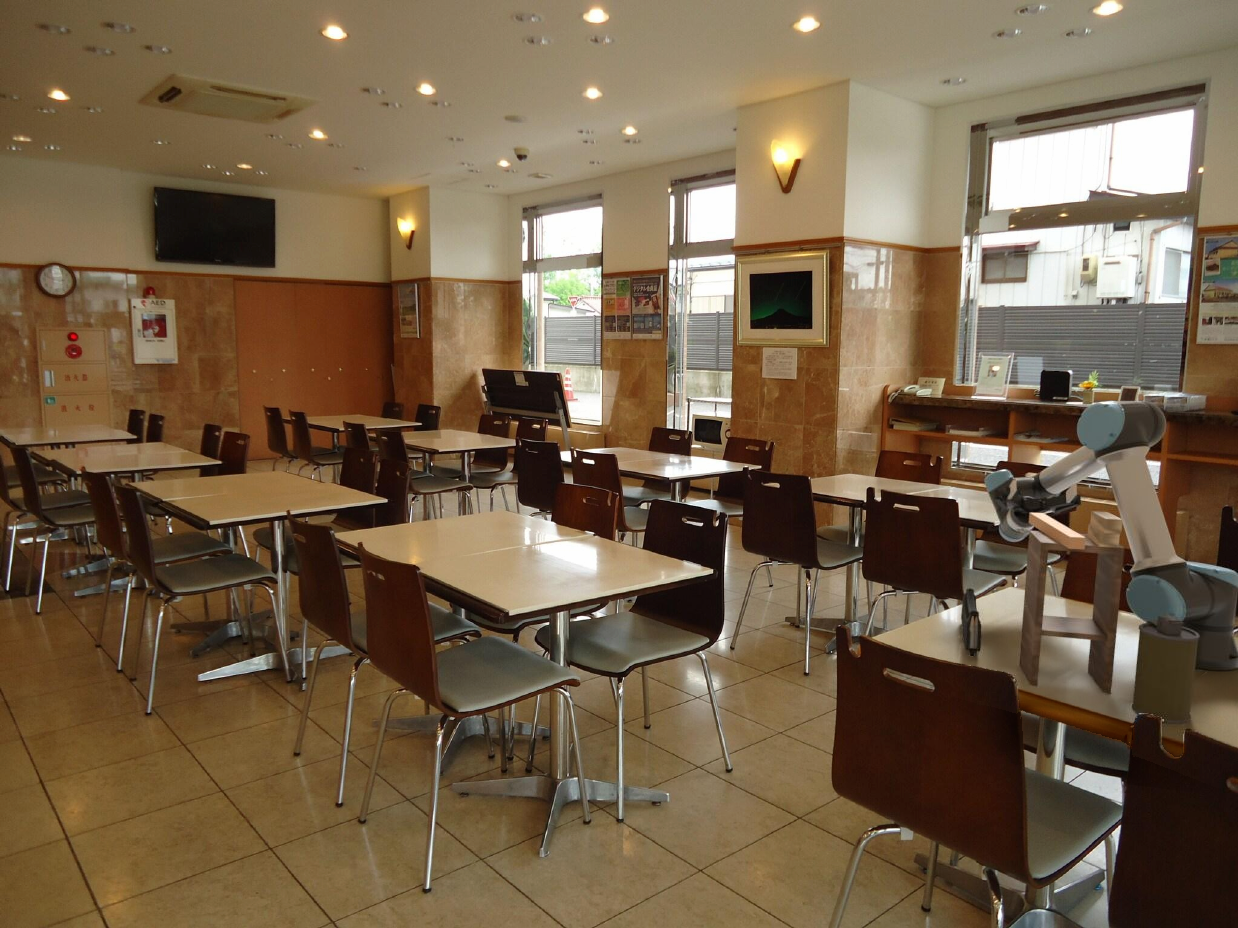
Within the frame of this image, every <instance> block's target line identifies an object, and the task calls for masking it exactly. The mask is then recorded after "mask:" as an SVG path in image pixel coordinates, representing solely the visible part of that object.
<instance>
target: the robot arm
mask: <svg viewBox="0 0 1238 928" xmlns="http://www.w3.org/2000/svg"><path fill="white" fill-rule="evenodd" d="M1166 430H1167V420H1166V416H1165V414H1164V412H1163V411H1162V409H1160V408H1159V407H1158V406H1157V405H1155V404H1153V402H1152V403H1151V402H1150V401H1144V400H1106V401H1099V402H1095V403H1093V404H1091V405H1089V406H1087V407H1086V408H1085V409H1084V410H1083V411H1082V413H1081V416H1080V418H1079V419H1078V422H1077V425H1076V432H1077V434H1076V435H1077V437H1078V439H1079V442H1080V444H1081V445H1082V446H1081V447H1080V448H1078V449H1076V450H1074V451H1073V452H1071V453H1069V454H1068V455H1066V456H1065V457H1063V458H1062V459H1059V460H1058V461H1055V463H1053V464H1050V465H1049V466H1048V467H1046V468H1044V469H1043V470H1042V471H1039V472H1038V473H1037V474H1034V475H1033V476H1025V477H1014V475H1013V474H1012V472H1011V471H1010V470H1008V469H999V470H997V471H996V470H995V471H994V472H992V473H989V474H988V475H986V476H985V478H984V485H985V488H986V492H987V493H988V496H989V499H990V500H991V503H992V505H993V507H994V510H995V512H996V516H997V519H998V521H999V525H998V530H999V534H1000V536H1001V537H1002V538H1003V539H1004V540H1006V541H1008V542H1012V543H1016V542H1020V541H1022V540H1024V539H1025V538H1026V537H1029V531H1033V529H1034V528H1035V527H1034V526H1033V525H1031V524H1030V523H1029V513H1044V514H1046V513H1047V512H1052V514H1053V515H1059V514H1060V513H1062V512H1065V511H1068V510H1071V509H1073V508H1076V507H1079V506H1081V505H1082V499H1081V498H1082V496H1081V495H1080V494H1078V491H1077V490H1078V488H1077V487H1078V485H1077V484H1079V482H1082V480H1085V479H1086V478H1089V477H1090V476H1093V474H1095V473H1098V472H1099V471H1101V470H1103V469H1106V474H1107V476H1108V479H1109V483H1110V486H1111V489H1112V492H1113V493H1112V494H1113V495H1114V498H1115V501H1116V502H1115V503H1116V505H1117V508H1118V509H1117V510H1118V512H1119V516H1120V519H1122V526H1123V528H1124V532H1125V534H1126V538H1127V541H1128V545H1129V548H1130V551H1131V555H1132V558H1133V561H1134V562H1133V563H1134V564H1133V566H1132V568H1131V569H1130V570H1129V573H1130V577H1131V579H1132V580H1131V581H1130V582H1129V584H1128V588H1126V593H1125V596H1126V601H1127V604H1128V606H1129V609H1130V610H1131V611H1132V612H1133V614H1134V615H1135V616H1136V617H1137V618H1139V619H1140V620H1141V621H1144V622H1145V623H1147V621H1157V620H1158V616H1175V617H1177V619H1179V620H1181V621H1182V622H1183V625H1182V627H1185V628H1188V629H1191V630H1193V631H1195V632H1197V633H1198V634H1199V635H1200V637H1199V639H1198V645H1197V654H1196V663H1195V669H1196V668H1198V669H1202V670H1209V671H1233V670H1237V669H1238V646H1237V642H1236V638H1235V634H1234V633H1235V631H1234V630H1235V621H1236V620H1235V619H1236V612H1237V605H1238V573H1237V572H1236V571H1235V570H1232V569H1230V568H1227V567H1226V568H1225V567H1222V566H1217V565H1214V564H1213V565H1212V564H1207V563H1201V562H1194V561H1187V560H1185V559H1183V558H1182V557H1179V556H1178V555H1177V554H1176V550H1175V547H1174V544H1173V541H1172V538H1171V534H1170V531H1169V528H1168V525H1167V522H1166V519H1165V516H1164V512H1163V509H1162V506H1161V504H1160V500H1159V496H1158V494H1157V491H1156V488H1155V483H1154V482H1153V477H1152V475H1151V471H1150V469H1149V466H1148V462H1147V459H1146V456H1147V454H1148V453H1149V451H1150V449H1151V447H1153V446H1154V445H1156V444H1157V443H1159V442H1160V441H1161V439H1162V438H1163V437H1164V435H1165V433H1166ZM1065 490H1066V491H1065ZM1063 491H1065V494H1062V495H1061V493H1062V492H1063ZM1236 668H1237V669H1236Z"/></svg>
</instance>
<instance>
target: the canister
mask: <svg viewBox="0 0 1238 928" xmlns="http://www.w3.org/2000/svg"><path fill="white" fill-rule="evenodd" d="M1182 625H1183V622H1182V621H1181V620H1179V619H1177V617H1175V616H1158V620H1157V621H1147V623H1146V622H1145V623H1141V624H1139V625H1138V629H1139V635H1138V642H1137V643H1138V645H1137V655H1136V665H1135V676H1134V688H1133V695H1132V696H1133V697H1132V703H1131V709H1132V711H1133V712H1134V711H1135V712H1134V713H1136V714H1137V713H1148V714H1153V715H1154V716H1159V717H1162V719H1164V722H1163V723H1166V724H1186V723H1189V722H1190V721H1191V720H1192V716H1191V711H1192V710H1191V709H1192V700H1193V690H1194V682H1195V673H1196V671H1195V670H1196V667H1195V663H1196V654H1197V645H1198V639H1199V637H1200V635H1199V634H1198V633H1197V632H1195V631H1193V630H1191V629H1188V628H1185V627H1182Z"/></svg>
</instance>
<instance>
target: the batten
mask: <svg viewBox="0 0 1238 928" xmlns="http://www.w3.org/2000/svg"><path fill="white" fill-rule="evenodd" d="M1029 523H1030V524H1031V525H1033V526H1034V527H1033V528H1036V529H1038V531H1042V532H1044V533H1045V534H1047V535H1048V536H1050V537H1052V538H1053V539H1055V540H1056V541H1058V542H1059V543H1061V544H1062V545H1064V546H1066V547H1067V548H1069V549H1085V537H1084V536H1082V535H1080V534H1081V533H1079V532H1077V531H1074V529H1071V528H1069V527H1068V526H1066V525H1065V524H1063V523H1061V522H1059V521H1057V520H1056V519H1055V518H1052V517H1051V516H1050V515H1047V514H1046V513H1029Z"/></svg>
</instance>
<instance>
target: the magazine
mask: <svg viewBox="0 0 1238 928" xmlns="http://www.w3.org/2000/svg"><path fill="white" fill-rule="evenodd" d="M965 591H966V592H965V593H964V594H963V596H962V603H961V615H960V616H961V617H960V618H961V629H962V630H961V632H962V633H961V634H962V642H963V646H964V649H965V650H966V651H967V652H968V653H969V655H970V656H969V657H972V656H974V657H975V654H976V653H980V652H981V649H982V648H981V646H982V645H981V643H982V623H981V620H980V617H979V616H980V612H979V610H977V609H978V608H977V597H976V595H975V590H974V589H972V588H966V590H965Z"/></svg>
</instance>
